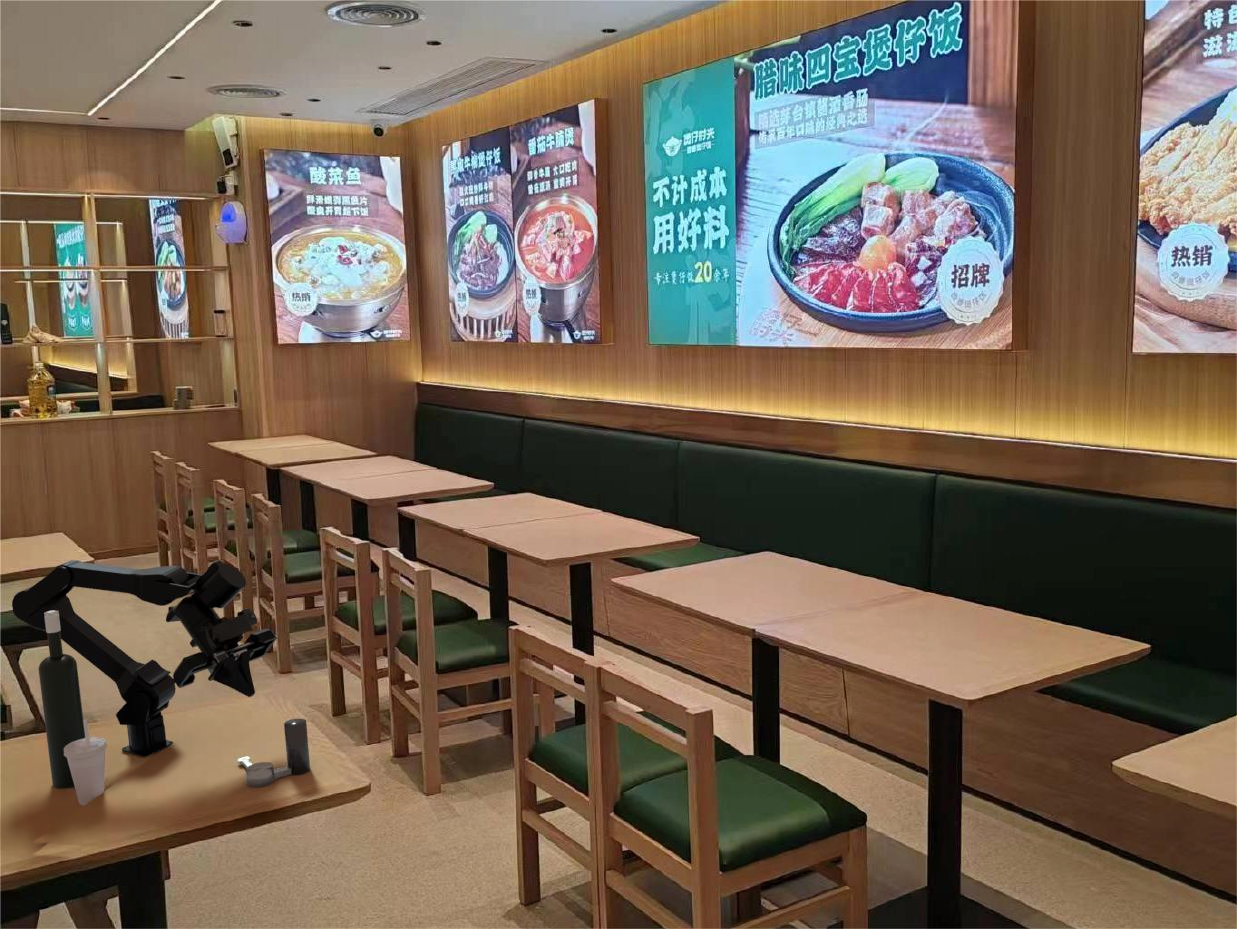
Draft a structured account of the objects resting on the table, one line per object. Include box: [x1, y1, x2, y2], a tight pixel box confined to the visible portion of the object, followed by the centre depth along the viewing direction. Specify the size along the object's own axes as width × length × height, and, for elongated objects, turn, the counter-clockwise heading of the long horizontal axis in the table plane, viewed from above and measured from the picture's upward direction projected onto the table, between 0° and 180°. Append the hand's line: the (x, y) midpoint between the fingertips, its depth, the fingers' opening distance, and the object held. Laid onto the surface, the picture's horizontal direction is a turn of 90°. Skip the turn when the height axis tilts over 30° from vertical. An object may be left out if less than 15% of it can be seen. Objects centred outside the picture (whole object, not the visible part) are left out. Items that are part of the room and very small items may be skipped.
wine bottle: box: [38, 610, 85, 789], centre depth 187 cm, size 6×6×30 cm
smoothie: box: [64, 718, 108, 807], centre depth 181 cm, size 6×6×14 cm
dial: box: [236, 718, 311, 788], centre depth 188 cm, size 10×12×8 cm
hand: (252, 695), depth 192 cm, fingers closed
